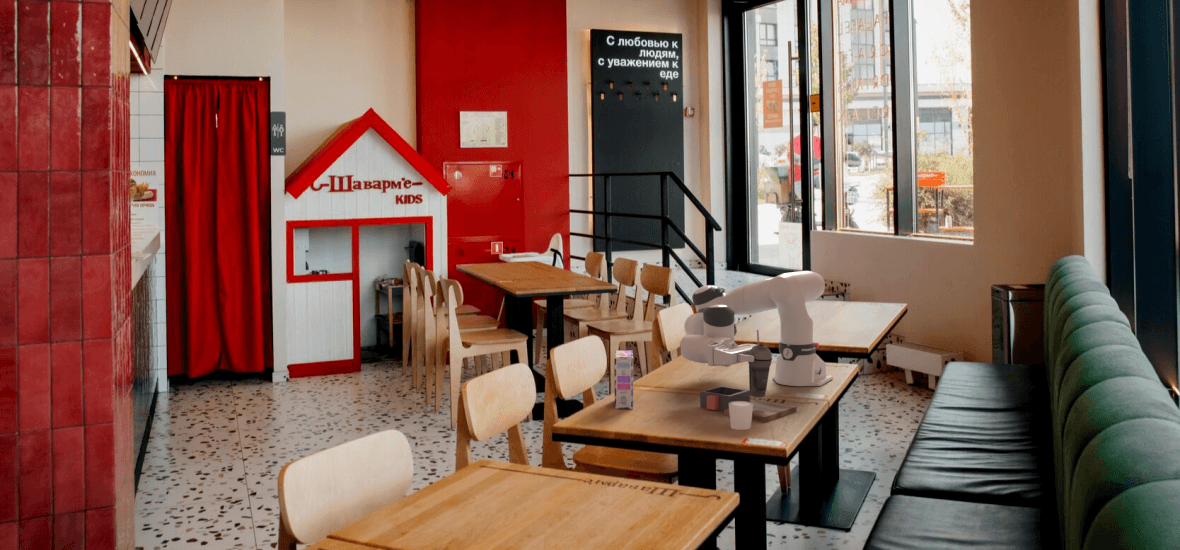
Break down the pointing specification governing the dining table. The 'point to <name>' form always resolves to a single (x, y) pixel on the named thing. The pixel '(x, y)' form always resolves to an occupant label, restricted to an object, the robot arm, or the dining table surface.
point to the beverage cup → (759, 369)
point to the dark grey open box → (722, 397)
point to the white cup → (740, 415)
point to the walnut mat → (768, 410)
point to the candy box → (623, 379)
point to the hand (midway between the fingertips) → (762, 356)
